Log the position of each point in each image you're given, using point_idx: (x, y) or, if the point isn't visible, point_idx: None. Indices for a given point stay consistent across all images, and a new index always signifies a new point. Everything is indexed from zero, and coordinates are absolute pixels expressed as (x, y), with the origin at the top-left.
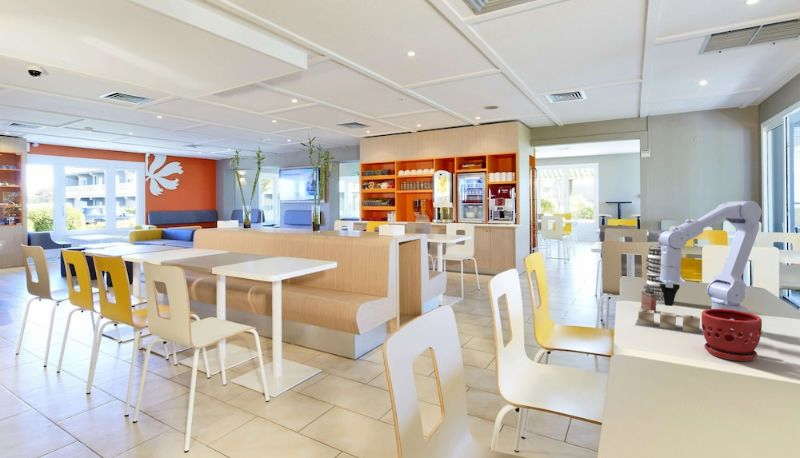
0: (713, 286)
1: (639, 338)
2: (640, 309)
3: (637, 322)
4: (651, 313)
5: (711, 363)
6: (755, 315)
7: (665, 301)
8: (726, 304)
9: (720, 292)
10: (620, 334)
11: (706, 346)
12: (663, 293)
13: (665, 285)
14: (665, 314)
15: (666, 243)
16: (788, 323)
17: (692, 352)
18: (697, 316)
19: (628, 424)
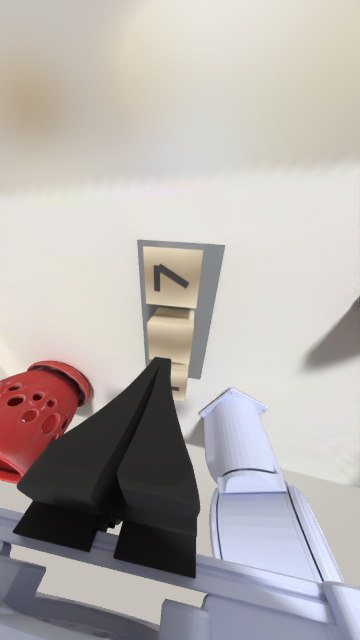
0: (296, 571)
1: (27, 255)
2: (190, 254)
3: (178, 247)
4: (146, 296)
5: (7, 354)
6: (12, 482)
7: (146, 369)
8: (219, 477)
9: (240, 533)
10: (12, 198)
11: (39, 364)
12: (112, 401)
13: (40, 499)
14: (155, 336)
15: None
16: (306, 472)
17: (33, 341)
18: (182, 398)
19: None
